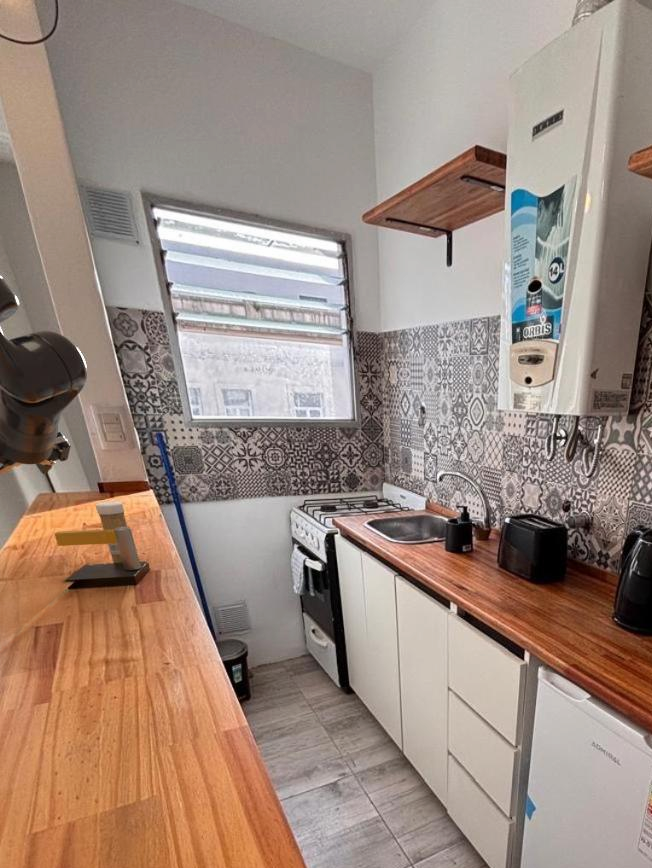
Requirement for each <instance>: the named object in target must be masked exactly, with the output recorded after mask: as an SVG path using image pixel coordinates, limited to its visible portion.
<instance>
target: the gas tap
mask: <svg viewBox="0 0 652 868" xmlns="http://www.w3.org/2000/svg"><path fill="white" fill-rule="evenodd" d="M53 534H54V537H55V540H56V544H57V546H58V547H62V546H64V547H65V546H88V545H108V544H112V543H117V544H118V547H119V551H120V554H121V558H122V562H123V565H124V569H125V570H137V569H140V568H141V565H140V562H141V561H140V558H139V554H138V551H137V547H136V543H135V539H134V536H133V532H132V528H131V527H130V526H127V527H118V528H114V529H112V530H103V529H89V530H87V529H86V530H66V531H65V530H64V531H63V530H61V531H56V532H54V533H53Z"/></svg>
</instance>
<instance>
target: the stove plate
mask: <svg viewBox="0 0 652 868" xmlns="http://www.w3.org/2000/svg"><path fill="white" fill-rule="evenodd" d="M139 562H140V565H141V568H140V569H137V570H125V569H124V565H123V563H113V562H110V563H109V562H108V563H92V564H91V563H90V564H83V565H82V566H81V567H80V568H78V569H77V570H76V571H75V572H74V573H72V574H71V575H70V576H68V577H67V578H66V579H65V580H64V582H66V583H68V582H73V583H71V584H70V585H69V586H67V589H68V590H76V589H91V588H105V587H106V588H107V587H123V586H136V585H138V584H139V583H140V582H141V581H142V580H143V578H144V577H145V576H146V575H147V573H149V571H150V570H151V567H150V564H149V561H148V560H146V561H145V560H144V561H139Z"/></svg>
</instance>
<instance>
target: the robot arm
mask: <svg viewBox="0 0 652 868" xmlns="http://www.w3.org/2000/svg"><path fill="white" fill-rule="evenodd" d="M19 307H20V302H19V298H18V297H17V295H16V294H15V292H14V291H13V289H12V287H10V285H9V284H8V283H7V282H6V280H5V279H4V278H3V277H2V275H0V324H1V323H3V322H4V321H6V320H8V319H9V318H11V317H12V316H14V315H15V313H17V311H18V310H19ZM87 378H88V369H87V363H86V360H85V358H84V356H83V354H82V353H81V351H80V349H79V347H77V345H76V344H75V343H73V341H71V340H70V339H68V337H66V336H64V335H62V334H60V333H58V332H55V331H52V330H37V331H34V332H31V333H27V334H24V335H20V336H17V337H14V338H11V339H8V338H7V337H6V336H5V334H4V333H3V330H2V328H1V327H0V464H1V465H0V474H5V473H7V472H8V471H10V470H12V469H13V468H15V467H16V468H17V467H19V466H21V465H36V468H38V470H39V471H40V473H41V474H42V475H46V474H49V471H50V470H51V469H52V468H53V466H54V465H55V464H57V462H56V461H60V462H65V461H67V460H68V459H69V455H70V451H71V445H70V443H69V441H68V439H66V438H65V436H64V434H63V433H62V432H61V431H59V424H60V420H61V417H62V414H63V413H62V412H63V411H64V410H65V409H66V408H67V407H68V406H69V405H70V404H71V403H72V402H73V401H74V400H75V399H76V397H78V395H79V394H80V392H81V391H82V390H83V389H84V387H85V385H86V382H87Z"/></svg>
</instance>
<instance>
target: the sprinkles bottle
mask: <svg viewBox="0 0 652 868" xmlns="http://www.w3.org/2000/svg"><path fill="white" fill-rule="evenodd" d="M95 508H96V513H97V514H98V516H99V518H100V523H101V525H102V530H112V529H114V528H118V527H128V523H127V521H126V517H125V508H124V505H123V502H121V501H104V502H98V503H96V504H95ZM107 547H108V550H109V553H110V556H111V559H112V563H123V562H122V558H121V554H120V551H119V547H118V544H117V543H112V544H107Z"/></svg>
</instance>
